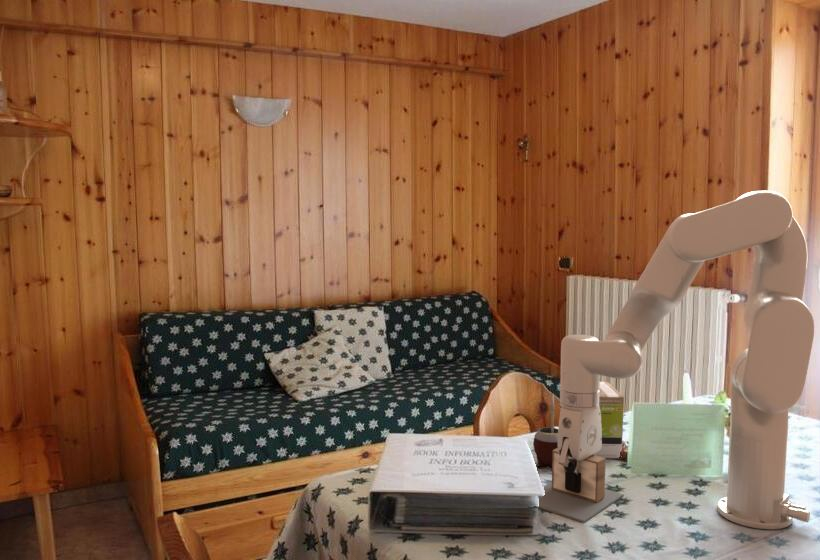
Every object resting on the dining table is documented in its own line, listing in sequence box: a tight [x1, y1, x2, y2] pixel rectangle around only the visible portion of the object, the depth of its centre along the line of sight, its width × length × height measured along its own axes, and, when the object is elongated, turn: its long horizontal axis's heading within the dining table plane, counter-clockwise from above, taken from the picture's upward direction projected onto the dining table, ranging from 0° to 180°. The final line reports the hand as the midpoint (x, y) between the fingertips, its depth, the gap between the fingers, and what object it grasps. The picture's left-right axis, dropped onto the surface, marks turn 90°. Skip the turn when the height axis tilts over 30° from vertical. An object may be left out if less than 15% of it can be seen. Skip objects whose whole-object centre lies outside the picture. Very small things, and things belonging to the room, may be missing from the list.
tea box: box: [594, 381, 625, 459], centre depth 168 cm, size 15×10×15 cm
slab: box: [551, 448, 606, 502], centre depth 140 cm, size 10×3×8 cm, turn 48°
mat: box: [539, 481, 625, 524], centre depth 139 cm, size 14×16×1 cm
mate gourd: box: [532, 393, 558, 470], centre depth 156 cm, size 8×8×15 cm
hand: (577, 487), depth 140 cm, fingers open, 3 cm apart
